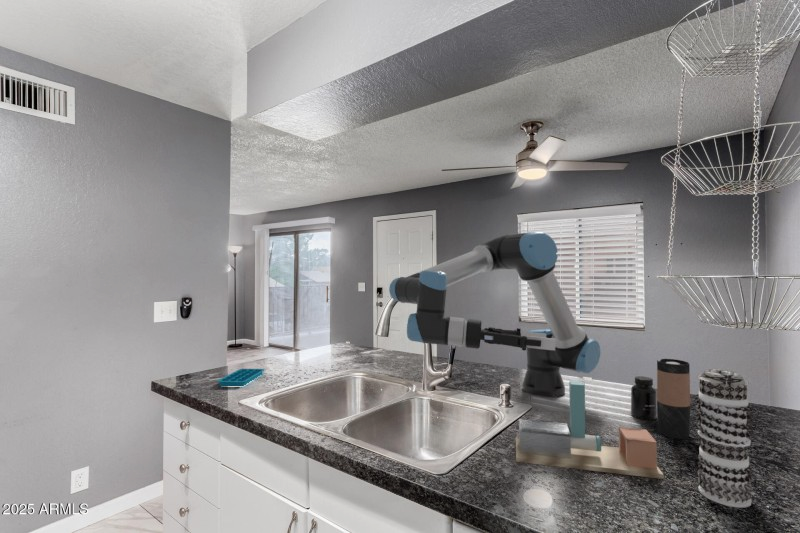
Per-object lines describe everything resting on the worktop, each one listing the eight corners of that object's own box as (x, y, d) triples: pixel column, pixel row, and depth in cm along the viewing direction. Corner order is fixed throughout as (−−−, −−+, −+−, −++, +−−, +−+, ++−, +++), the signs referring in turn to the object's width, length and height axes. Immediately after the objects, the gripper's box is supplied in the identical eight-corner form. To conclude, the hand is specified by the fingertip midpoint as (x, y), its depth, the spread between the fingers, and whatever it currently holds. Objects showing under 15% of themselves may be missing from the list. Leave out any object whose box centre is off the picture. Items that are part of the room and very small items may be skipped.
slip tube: (530, 446, 99) (529, 381, 99) (529, 440, 102) (529, 378, 102) (601, 454, 95) (600, 386, 95) (598, 447, 98) (597, 382, 98)
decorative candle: (729, 512, 76) (727, 379, 76) (684, 486, 85) (683, 368, 85) (767, 505, 77) (765, 376, 78) (719, 481, 86) (718, 365, 87)
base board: (516, 461, 96) (516, 457, 96) (515, 440, 107) (515, 436, 107) (663, 479, 87) (663, 474, 87) (645, 454, 99) (645, 450, 99)
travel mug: (696, 440, 107) (695, 365, 107) (664, 438, 108) (663, 364, 108) (682, 429, 114) (681, 359, 114) (652, 427, 116) (652, 358, 116)
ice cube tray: (265, 375, 176) (265, 368, 176) (244, 389, 156) (244, 381, 156) (240, 375, 177) (240, 368, 177) (215, 389, 157) (215, 381, 157)
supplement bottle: (651, 422, 119) (650, 382, 119) (627, 415, 125) (626, 377, 125) (660, 417, 123) (660, 378, 123) (637, 411, 129) (636, 373, 129)
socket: (627, 465, 91) (626, 439, 92) (619, 451, 98) (618, 427, 98) (656, 468, 90) (656, 442, 90) (646, 454, 97) (646, 429, 97)
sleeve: (519, 453, 98) (519, 429, 98) (519, 441, 105) (519, 419, 105) (570, 458, 95) (570, 434, 95) (566, 446, 102) (566, 423, 102)
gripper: (466, 342, 117) (541, 350, 113) (462, 353, 93) (558, 364, 89) (468, 316, 118) (543, 323, 114) (464, 321, 93) (560, 330, 89)
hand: (550, 341), depth 101 cm, fingers open, 13 cm apart
